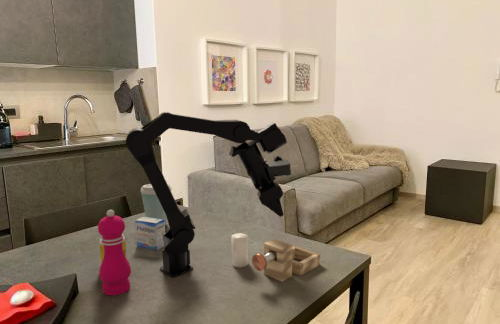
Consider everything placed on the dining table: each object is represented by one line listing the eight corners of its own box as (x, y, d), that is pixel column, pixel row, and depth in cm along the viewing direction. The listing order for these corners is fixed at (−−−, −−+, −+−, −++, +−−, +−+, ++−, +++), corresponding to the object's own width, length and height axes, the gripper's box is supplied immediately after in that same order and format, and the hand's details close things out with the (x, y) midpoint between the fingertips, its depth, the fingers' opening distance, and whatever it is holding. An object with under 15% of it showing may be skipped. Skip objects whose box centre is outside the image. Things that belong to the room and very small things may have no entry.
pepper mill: (122, 298, 90) (116, 215, 86) (94, 295, 91) (86, 213, 87) (137, 283, 97) (132, 206, 93) (111, 280, 98) (104, 204, 94)
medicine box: (136, 247, 119) (134, 220, 117) (145, 242, 123) (143, 215, 122) (157, 250, 116) (156, 223, 115) (166, 245, 120) (164, 218, 119)
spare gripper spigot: (239, 269, 104) (239, 240, 102) (228, 264, 107) (228, 236, 105) (251, 263, 107) (250, 236, 105) (240, 259, 110) (239, 232, 108)
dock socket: (286, 283, 95) (286, 251, 94) (260, 272, 101) (260, 241, 100) (320, 264, 105) (320, 235, 104) (294, 255, 111) (294, 227, 110)
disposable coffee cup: (142, 221, 142) (140, 181, 139) (172, 219, 145) (170, 179, 142) (142, 231, 132) (139, 189, 129) (174, 228, 135) (172, 186, 132)
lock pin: (264, 273, 92) (263, 257, 92) (252, 268, 95) (251, 252, 94) (286, 261, 98) (286, 246, 98) (274, 257, 101) (274, 242, 100)
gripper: (287, 157, 95) (313, 208, 100) (274, 141, 113) (296, 185, 118) (247, 178, 96) (275, 228, 100) (240, 159, 113) (263, 202, 118)
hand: (278, 209), depth 109 cm, fingers open, 9 cm apart
